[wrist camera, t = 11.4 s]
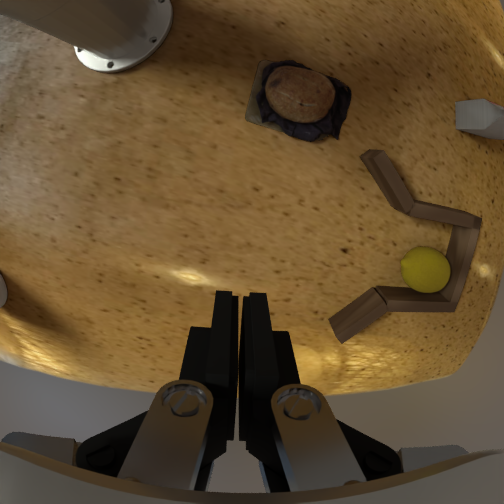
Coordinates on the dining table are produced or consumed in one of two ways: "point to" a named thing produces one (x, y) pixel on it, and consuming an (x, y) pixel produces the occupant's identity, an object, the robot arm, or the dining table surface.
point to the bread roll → (297, 100)
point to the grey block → (480, 118)
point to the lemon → (425, 269)
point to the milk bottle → (2, 291)
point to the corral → (401, 297)
